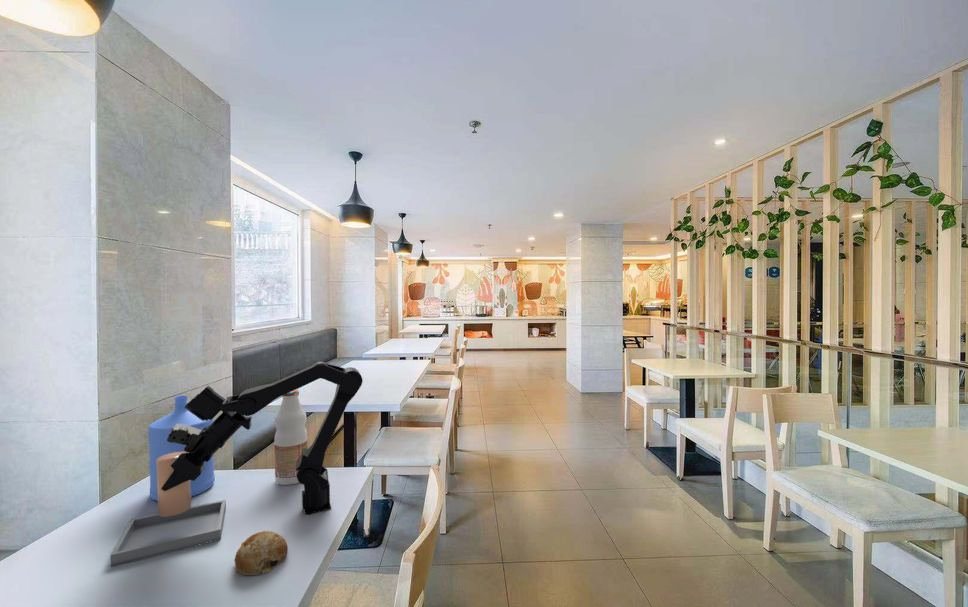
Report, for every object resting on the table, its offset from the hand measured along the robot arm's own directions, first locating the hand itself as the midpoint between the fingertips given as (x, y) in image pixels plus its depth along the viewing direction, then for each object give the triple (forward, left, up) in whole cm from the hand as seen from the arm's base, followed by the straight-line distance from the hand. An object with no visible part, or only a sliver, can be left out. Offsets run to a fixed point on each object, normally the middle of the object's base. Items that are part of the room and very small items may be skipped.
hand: (167, 483), depth 100 cm
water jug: (+1, -27, -13) cm, 30 cm away
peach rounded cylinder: (-1, 0, -7) cm, 7 cm away
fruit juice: (-28, -19, -13) cm, 36 cm away
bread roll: (-20, +22, -13) cm, 32 cm away
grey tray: (-1, 0, -13) cm, 13 cm away
